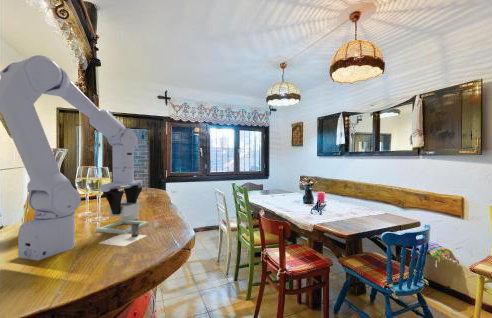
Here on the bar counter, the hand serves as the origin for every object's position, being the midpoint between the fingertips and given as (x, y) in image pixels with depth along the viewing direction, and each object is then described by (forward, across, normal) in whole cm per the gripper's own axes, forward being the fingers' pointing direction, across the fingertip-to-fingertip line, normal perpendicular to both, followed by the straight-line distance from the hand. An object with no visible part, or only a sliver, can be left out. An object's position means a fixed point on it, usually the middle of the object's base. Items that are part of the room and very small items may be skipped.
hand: (123, 212), depth 71 cm
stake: (+5, -6, -9) cm, 12 cm away
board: (+6, -9, -8) cm, 13 cm away
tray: (+6, 0, 0) cm, 6 cm away
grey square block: (+1, 0, 0) cm, 1 cm away
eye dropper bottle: (+6, +8, +6) cm, 12 cm away
